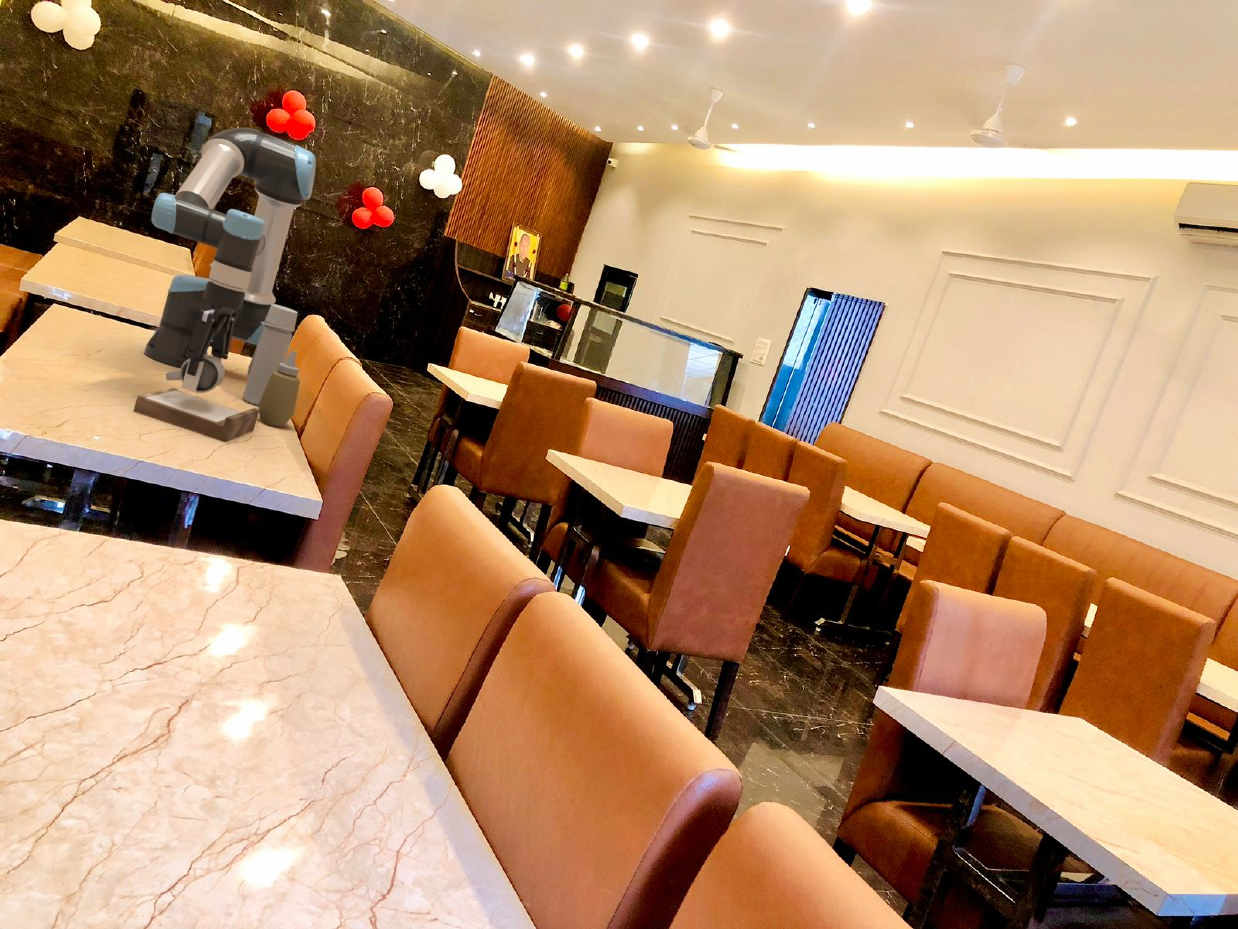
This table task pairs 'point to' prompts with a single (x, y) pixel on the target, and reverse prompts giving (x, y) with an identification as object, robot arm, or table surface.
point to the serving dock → (198, 419)
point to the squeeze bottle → (280, 394)
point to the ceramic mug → (202, 374)
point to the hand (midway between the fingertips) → (198, 387)
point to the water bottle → (269, 350)
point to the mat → (193, 405)
